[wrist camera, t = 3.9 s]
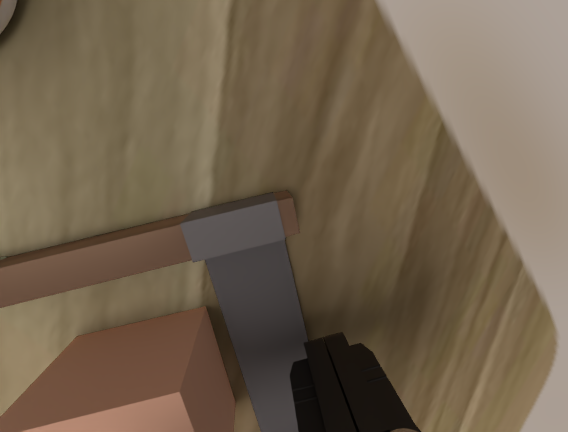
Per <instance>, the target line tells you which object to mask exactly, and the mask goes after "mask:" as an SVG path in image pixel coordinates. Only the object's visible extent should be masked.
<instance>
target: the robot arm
mask: <svg viewBox="0 0 568 432" xmlns="http://www.w3.org/2000/svg"><path fill="white" fill-rule="evenodd" d="M323 339H324V341H323ZM323 339H322V338H319V339H315V340H311V341H308V342H304V347H305V351H306V355H307V358H306V359H302V360H299V361H295V362H293V365H292V368H291V372H290V382H291V388H292V394H293V400H294V406H295V413H296V419H297V425H298V431H299V432H421V431H420V430H419V429H418V427H417V426H416V425H415V423H414V422H413V420H412V418H411V417H410V415H409V413H408V412H407V410H406V408H405V407H404V405H403V403H402V401H401V400H400V398H399V396H398V395H397V393H396V391H395V390H394V388H393V386H392V384H391V383H390V381H389V379H388V378H387V377H386V374H385V373H384V371H383V369H382V367H380V364H379V362H378V361H377V359H376V357H375V356H374V354H373V352H372V351H370V350H369V349H368V348H367V347H365V346H364V345H363V344H361V343H359V344H355V345H352V346H349V344H348V342H347V340H346V338H345V336H344V334H343V333H342V332H340V333H336V334H333V335H329V336H326V337H323Z"/></svg>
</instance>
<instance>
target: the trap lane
mask: <svg viewBox="0 0 568 432" xmlns="http://www.w3.org/2000/svg"><path fill="white" fill-rule="evenodd" d="M298 233H300V230H299V226H298V221H297V217H296V212H295V207H294V203H293V198H292V196H291V195H290V194H289V193H288V192H287V190H286V191H282V192H278V193H273V192H272V193H268V194H263V195H259V196H255V197H251V198H247V199H243V200H238V201H234V202H230V203H226V204H222V205H218V206H213V207H209V208H205V209H201V210H197V211H192V212H191V213H190V214H186V215H182V216H178V217H173V218H169V219H165V220H161V221H157V222H153V223H148V224H144V225H140V226H136V227H132V228H128V229H123V230H119V231H115V232H111V233H107V234H102V235H98V236H94V237H90V238H86V239H82V240H77V241H73V242H69V243H65V244H61V245H57V246H52V247H48V248H44V249H40V250H36V251H32V252H27V253H23V254H19V255H15V256H11V257H6V256H5V257H0V308H2V307H6V306H10V305H14V304H18V303H22V302H26V301H30V300H34V299H38V298H42V297H46V296H50V295H54V294H58V293H62V292H66V291H70V290H74V289H78V288H82V287H86V286H90V285H94V284H98V283H102V282H106V281H110V280H114V279H118V278H122V277H126V276H130V275H134V274H138V273H142V272H146V271H150V270H154V269H158V268H162V267H166V266H170V265H174V264H178V263H182V262H186V261H190V260H192V261H193V262H197V261H201V260H205V262H206V265H207V268H208V271H209V274H210V277H211V280H212V283H213V286H214V289H215V292H216V295H217V298H218V301H219V305H220V308H221V311H222V314H223V317H224V320H225V323H226V326H227V329H228V332H229V335H230V338H231V341H232V344H233V347H234V350H235V353H236V356H237V359H238V363H239V366H240V369H241V372H242V375H243V378H244V381H245V384H246V387H247V390H248V393H249V396H250V399H251V402H252V405H253V408H254V411H255V414H256V417H257V421H258V424H259V427H260V430H261V432H299V431H298V425H297V419H296V413H295V406H294V400H293V394H292V388H291V382H290V372H291V368H292V365H293V362H295V361H299V360H302V359H306V358H307V355H306V351H305V347H304V342H308V338H307V334H306V329H305V325H304V321H303V317H302V312H301V308H300V304H299V300H298V295H297V291H296V287H295V283H294V278H293V274H292V270H291V266H290V261H289V257H288V253H287V249H286V244H285V239H286V238H285V237H286V236H290V235H294V234H298Z"/></svg>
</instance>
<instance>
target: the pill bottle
mask: <svg viewBox="0 0 568 432" xmlns="http://www.w3.org/2000/svg"><path fill="white" fill-rule="evenodd" d="M16 3H17V0H0V34H1V32H2V31H3V30H4V29H5V27H6V26H7V24H8V22H9V21H10V19H11V17H12V15H13V13H14V10H15V7H16Z"/></svg>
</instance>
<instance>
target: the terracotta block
mask: <svg viewBox="0 0 568 432" xmlns="http://www.w3.org/2000/svg"><path fill="white" fill-rule="evenodd" d="M235 404H236V402H235V399H234V396H233V392H232V389H231V386H230V383H229V379H228V376H227V373H226V370H225V366H224V363H223V360H222V357H221V354H220V350H219V347H218V344H217V341H216V337H215V334H214V331H213V328H212V324H211V321H210V318H209V315H208V312H207V308H206V306H204V307H200V308H196V309H192V310H187V311H183V312H179V313H174V314H170V315H166V316H162V317H157V318H153V319H149V320H144V321H140V322H136V323H132V324H127V325H123V326H119V327H114V328H110V329H106V330H102V331H97V332H93V333H89V334H85V335H80V336H77V337H76V338H75V339H74V340H73V341H72V342H71V343H70V344H69V345H68V346H67V347H66V348H65V349H64V351H63V352H62V353H61V354H60V355H59V356H58V357H57V358H56V359H55V360H54V361H53V362H52V363H51V364H50V365H49V366H48V367H47V368H46V370H45V371H44V372H43V373H42V374H41V375H40V376H39V377H38V378H37V379H36V380H35V381H34V382H33V383H32V384H31V385H30V386H29V387H28V388H27V390H26V391H25V392H24V393H23V394H22V395H21V396H20V397H19V398H18V399H17V400H16V401H15V402H14V403H13V404H12V405H11V406H10V407H9V409H8V410H7V411H6V412H5V413H4V414H3V415H2V416H1V417H0V432H234V418H235Z"/></svg>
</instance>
